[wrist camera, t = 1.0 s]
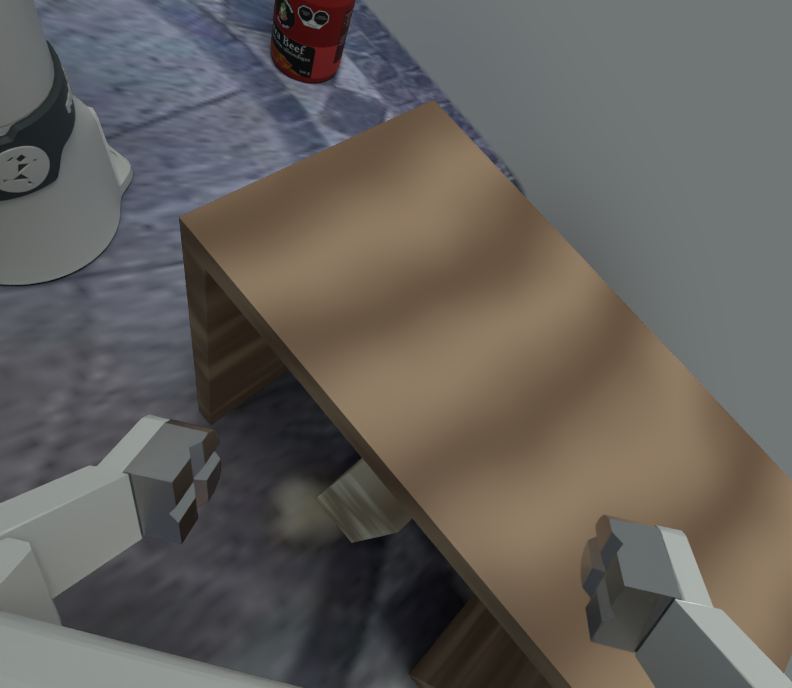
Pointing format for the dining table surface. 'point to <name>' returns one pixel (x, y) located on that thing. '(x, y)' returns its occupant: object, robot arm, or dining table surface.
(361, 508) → the ash block
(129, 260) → the dining table surface
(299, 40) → the canned food
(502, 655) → the walnut tunnel
